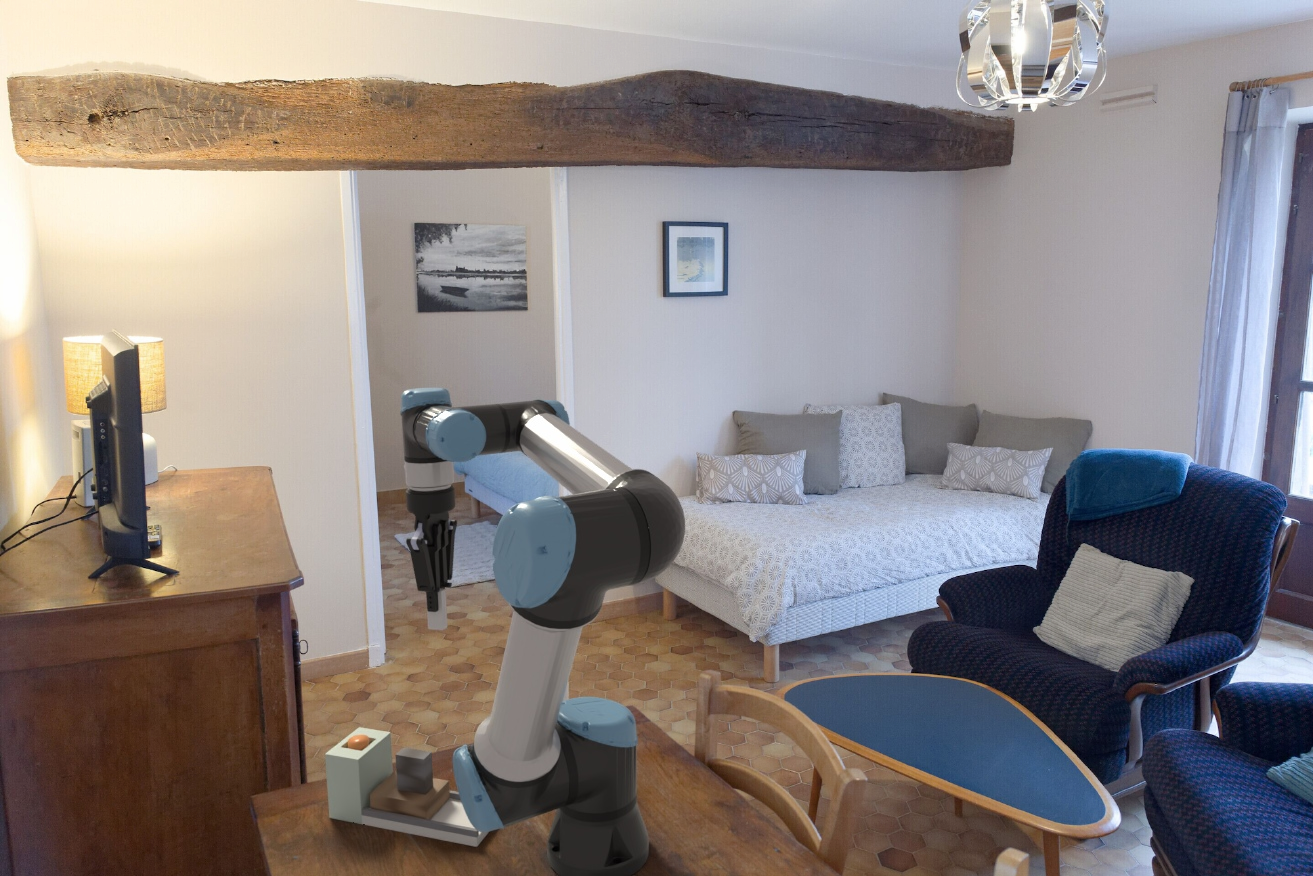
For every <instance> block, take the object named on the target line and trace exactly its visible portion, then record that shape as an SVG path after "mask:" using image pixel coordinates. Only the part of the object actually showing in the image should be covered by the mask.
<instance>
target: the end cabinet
mask: <svg viewBox="0 0 1313 876" xmlns="http://www.w3.org/2000/svg"><path fill="white" fill-rule="evenodd" d="M356 735H366V736H368V737H369V745H368V746H367V747H366V748H365V749H364V750H362V751H360V750H354V749H348V739H349V738H351V737H353V736H356ZM392 750H393V749H392V734H391V732H390V731H386V730H385V731H384V730H378V729H372V728H367V727H361V726H359V727H358V728H356V729H355V730H353V732H351V733H350V734H348V735H347V736H346V737H345V738H343V739H342V740H341V741H339V742H338V743H337V744H336V745H335V746H333V747H332V748H330V749H329V750H328V751H327V752H326V753H324V759H325V760H324V761H325V772H326V789H327V800H328V802H327V803H328V814H329V815H328V816H329V819H334V820H338V821H339V820H340V821H342V822H343V821H344V822H349V823H353V822H354V823H355V824H359V825H363V824H362V809H363V808H364V807H365V808H370V793H371V792H372V791H373V790H375V789H376V788H377V787H378V786H379V785H380V784H381V783H382V782H383V781H384V780H385V779H387V778H388V777H389V776H390V775H391V774H392V773H393V772H394V770H393V769H394V767H393V751H392Z"/></svg>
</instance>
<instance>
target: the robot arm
mask: <svg viewBox="0 0 1313 876" xmlns="http://www.w3.org/2000/svg"><path fill="white" fill-rule="evenodd" d="M400 404H401V405H400V412H399V413H400V416H401V429H402V430H401V432H402V443H403V444H402V446H403V447H402V448H403V456H404V457H403V458H404V459H403V460H404V465H403V469H404V475H405V476H404V477H405V484H406V486H407V487H408V488H407V489H405V497H406V509H407V511H408V513H411V514H413V516H414V518H415V519H414V523H413V524H414V525H413V529H414V534H413V535H412V536H411V537H410V536H409V537H406V541H405V543H406V545H407V548H408V549H409V552H410V556H411V557H410V558H411V563H412V567H413V568H412V569H413V572H414V573H413V574H414V579H415V582H416V583H415V584H416V589H417V591H418V592H425V599H426V616H427V618H426V619H427V630H433V631H435V630H436V631H445V630H446V629H447V628H448V615H447V614H448V611H447V609H448V608H447V592H446V591H447V590H446V588H448V589H449V588H452V586H453V582H448V581H451V580H452V579H453V576H454V575H453V573H454V558H455V557H454V556H455V555H454V554H455V553H454V552H455V538H456V531H457V527H458V526H457V525H458V521H457V519H451V518H450V513H449V512H451V511H453V510H454V509H455V508H456V491H455V490H456V489H455V486H454V485H453V483H454V482H455V467H454V463H467V462H470V461H472V460H473V459H475V458H476V457H478V456H486V455H494V454H496V455H497V454H503V453H515V452H521V453H522V454H523V455H525V456H526V457H528V458H529V459H530V460H531V461H533V462H534V463H535V464H536V465H537V466H538V467H540V468H541V469H542V470H543V471H545V472H546V473H547V474H548V475H549V476H550V477H551V478H553V480H555V481H556V482H557V483H559V484H560V485H561V486H562V487H563V488H564V489H566V490H567V491H568V492H569V493H571V494H570V495H569V494H567V495H562V496H554V495H544V496H538V497H537V498H535V499H530V500H526V501H522V502H519V503H516V504H514V505H512V506H511V507H510V508H508V509H507V510H506V511H505V512H504V513H503V515H502V516H501V518H500V521H499V522H498V524H497V526H496V528H495V532H494V533H495V534H494V535H493V536H494V537H493V542H492V550H491V551H492V556H493V557H494V559H493V560H494V562H493V563H492V569H493V577H494V580H495V583H496V586H497V589H498V591H499V593H500V595H501V597H502V598H503V600H505V602H506V603H507V604H508V606H509V607H510V609H511V611H513V612H512V616H511V620H510V623H509V624H510V626H509V630H508V633H507V634H508V635H507V638H506V644H505V649H504V653H503V658H502V663H501V667H500V672H499V677H498V680H497V686H496V690H495V695H494V699H493V704H492V708H491V712H490V715H488V716H486V717H485V719H483V720H482V722H481V723H480V724H479V725H478V726H477V729H476V731H475V733H474V734H475V735H474V740H473V742H472V743H471V744H467V743H465V744H463V745H462V746H460V747H457V748H456V749H455V750H454V751H453V755H452V768H453V776H454V781H455V783H456V789H457V792H458V793H459V796H460V799H461V802H462V805H463V808H464V810H465V813H466V815H467V817H468V819H469V821H470V823H471V824H472V825H473V827H474V828H475V829H476V830H478V831H480V832H492V831H496V830H499V829H501V830H505V829H506V828H507V827H510V826H512V825H516V824H519V823H522V822H524V821H527V820H529V819H533V818H535V817H536V818H537V817H538V816H541V815H544V814H546V813H550V812H553V811H555V814H554V817H553V819H552V820H553V821H552V823H551V827H550V829H549V832H548V833H549V834H548V836H547V841H546V842H547V843H546V851H547V852H546V853H547V862H548V864H549V865H550V867H551V868H552V870H553V871H554V872H555V873H556V874H557V875H559V876H633V875H634V874H636V873H637V872H638V871H640V869H641V868H643V867H644V865H645V863H646V862H647V861H648V858H649V854H650V844H649V843H650V842H649V841H650V838H649V833H648V830H647V829H648V828H647V827H646V824H645V822H644V819H643V816H642V814H641V813H642V812H641V810H640V807H639V804H638V793H637V791H638V789H637V788H638V787H637V786H638V785H637V784H638V783H637V782H638V777H637V775H638V771H637V769H638V767H637V766H638V765H637V764H638V763H637V761H638V758H637V757H638V756H637V754H638V753H637V752H638V751H637V750H638V748H637V746H638V743H639V738H638V734H637V732H638V731H637V723H636V718H635V716H634V714H633V713H632V711H631V710H630V709H629V708H628V707H627V706H625V705H623V704H622V703H619V702H618V701H615V700H612V699H609V698H604V697H597V696H580V697H573V698H569V699H568V700H566V701H564V702H562V701H563V697H564V694H565V690H566V686H567V683H568V684H569V678H570V674H571V671H572V667H573V664H574V660H575V656H576V652H577V649H578V647H579V646H578V645H579V643H580V638H581V634H582V631H583V627H585V626H587V625H589V624H591V623H592V622H594V621H595V620H596V618H597V617H598V615H599V614H600V612H601V610H602V606H603V604H604V603H603V602H604V599H605V595H606V593H607V592H608V591H609V590H615V589H619V588H624V587H628V586H634V585H637V584H642V583H645V582H648V581H650V580H653V579H655V578H656V577H659V576H660V575H661V574H663V573H664V572H665V571H666V570H667V569H668V568H669V567H670V566H671V565H672V564H673V563H674V561H675V560H676V558H677V557H678V555H679V553H680V551H681V550H682V549H681V548H682V547H683V544H684V539H685V534H686V517H685V513H684V508H683V507H682V504H681V502H680V500H679V498H678V496H677V495H676V493H675V491H673V489H672V488H671V487H670V486H669V485H668V484H667V483H666V482H664V481H663V480H661V479H660V478H659V477H658V476H656V475H655V474H653V473H651V471H648V470H645V469H643V468H642V469H641V468H631V467H629V466H628V465H627V464H625V463H624V462H623V461H621V460H620V459H618V458H617V457H616V456H614V455H613V454H611V453H610V452H609V451H607V450H605V449H604V448H603V447H601V446H600V445H598V444H597V443H595V441H593V440H591V439H590V438H589V437H587V436H585V435H584V434H583V433H581V432H580V431H579V430H577V429H576V428H574V427H573V426H572V425H570V417H569V414H568V411H567V410H566V409H565V406H564V404H563V403H561V402H560V400H559V401H558V400H555V399H540V398H539V399H533V400H526V401H517V402H515V401H514V402H505V403H493V404H478V405H466V406H453V404H452V402H451V395H450V392H449V390H448V389H446V388H443V387H419V388H416V387H415V388H410V389H406V390H404V391H403V392H402V393H401V397H400Z"/></svg>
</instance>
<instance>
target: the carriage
mask: <svg viewBox="0 0 1313 876" xmlns="http://www.w3.org/2000/svg"><path fill="white" fill-rule="evenodd" d="M433 769H434V768H433V752H432V751H430V750H429V751H428V750H424V749H423V750H422V749H415V748H410V747H404V746H403V747H402V748H401V749H400V750H399V751H398V752H396V754H395V770H396V771H394V770H393V773H392V774H391V775H390V776H389V777H388V778H387V779H385V780H384V781H383V782H382V783H381V784H380V785H379V786H378V787H377V788H376V789H375V790H373V791H372V792H371V793H370V807H371V809H375V810H381V811H386V812H391V813H396V814H402V815H407V816H412V817H417V818H422V819H428V820H430V818H431V817H432V816H433V815H434V814H435V813H436V812H437V811H438V810H439V809H440V808H441V807H442V806H443V805H444V803H445V802H446V801H447V800H448V799H449V798H450V791H451V790H450V780H447V779H443V778H442V779H441V778H437V777H436V778H434V776H433V775H434V773H433V772H434V771H433ZM449 790H450V791H449Z"/></svg>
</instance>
